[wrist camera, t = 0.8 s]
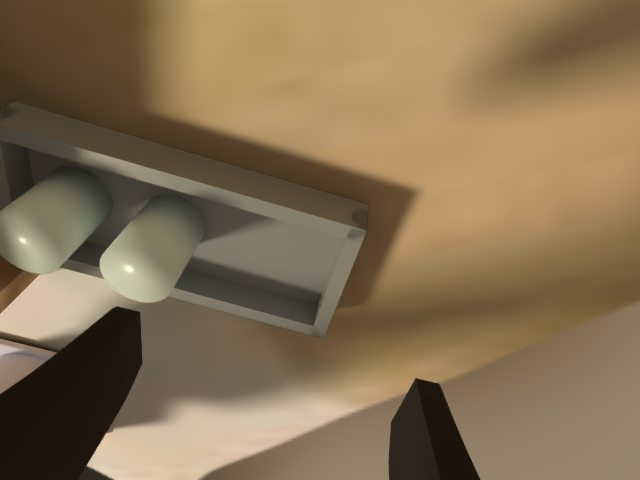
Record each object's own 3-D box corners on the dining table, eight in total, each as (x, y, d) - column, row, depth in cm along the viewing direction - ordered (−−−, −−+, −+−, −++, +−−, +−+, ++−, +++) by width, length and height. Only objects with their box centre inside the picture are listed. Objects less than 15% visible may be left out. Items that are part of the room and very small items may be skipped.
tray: (328, 304, 24) (317, 379, 20) (40, 224, 23) (-32, 286, 19) (368, 200, 20) (364, 268, 16) (21, 98, 19) (-76, 144, 15)
